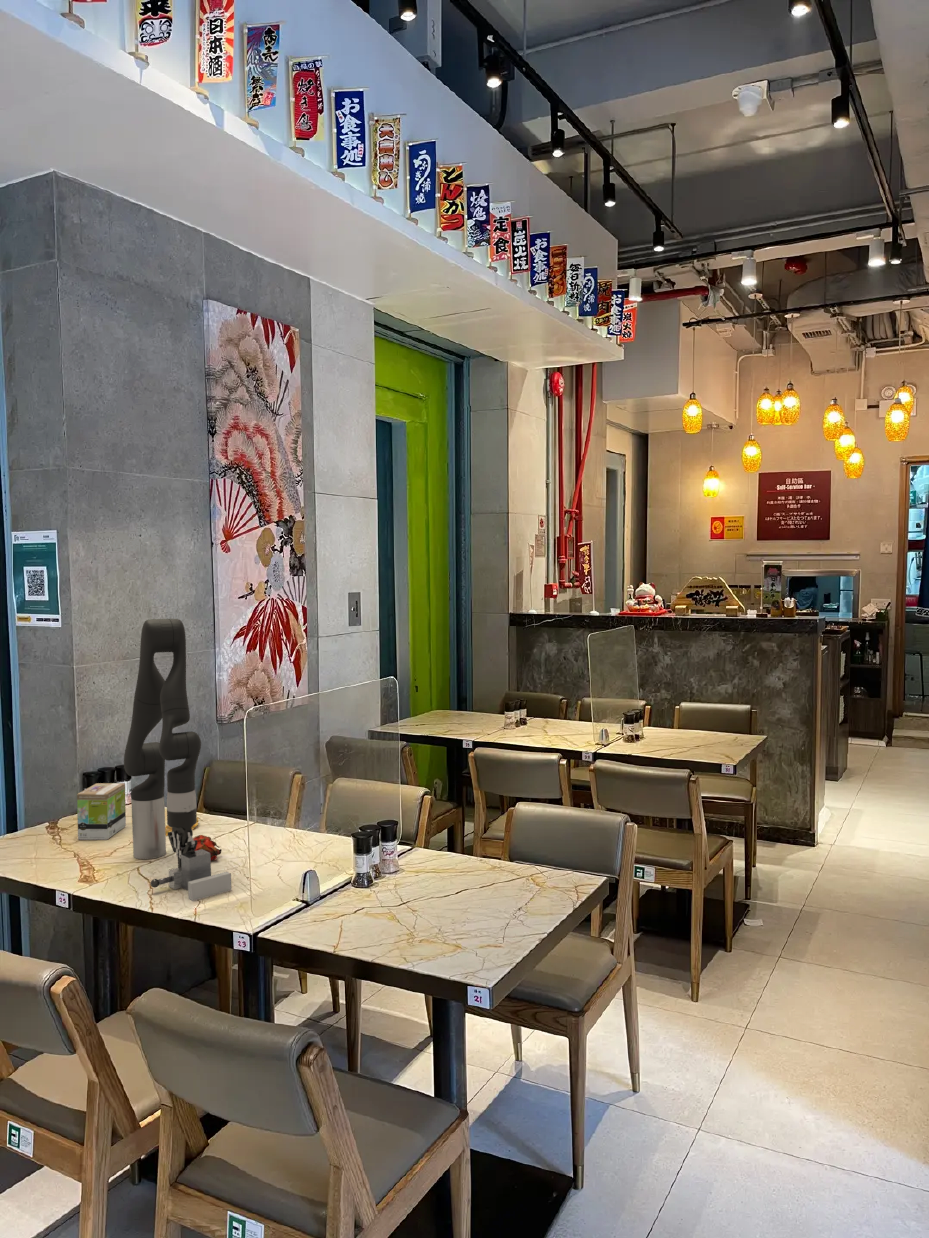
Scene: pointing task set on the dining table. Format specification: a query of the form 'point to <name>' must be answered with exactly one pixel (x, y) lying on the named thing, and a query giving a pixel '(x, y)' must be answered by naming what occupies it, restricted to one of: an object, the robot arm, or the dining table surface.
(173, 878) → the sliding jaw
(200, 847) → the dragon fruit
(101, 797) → the tea box
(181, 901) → the dining table surface
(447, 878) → the dining table surface
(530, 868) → the dining table surface
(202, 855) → the steel block
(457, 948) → the dining table surface
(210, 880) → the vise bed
